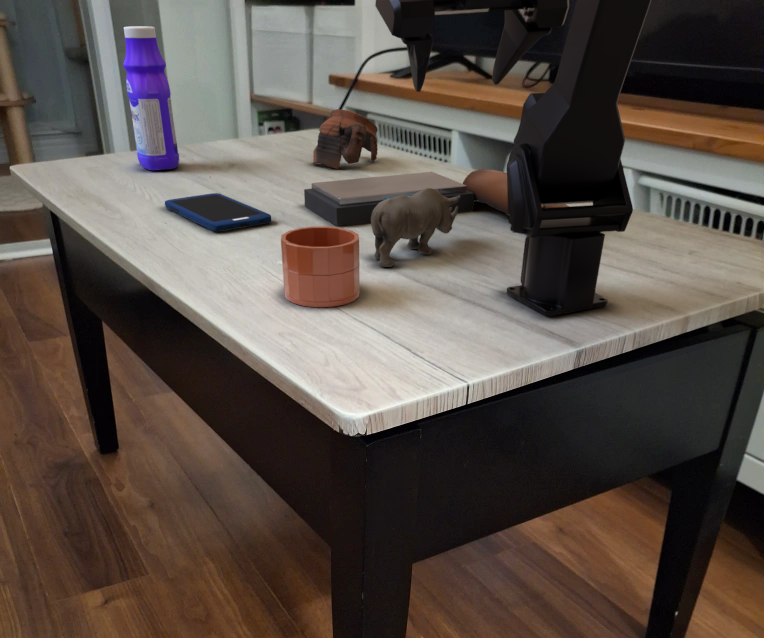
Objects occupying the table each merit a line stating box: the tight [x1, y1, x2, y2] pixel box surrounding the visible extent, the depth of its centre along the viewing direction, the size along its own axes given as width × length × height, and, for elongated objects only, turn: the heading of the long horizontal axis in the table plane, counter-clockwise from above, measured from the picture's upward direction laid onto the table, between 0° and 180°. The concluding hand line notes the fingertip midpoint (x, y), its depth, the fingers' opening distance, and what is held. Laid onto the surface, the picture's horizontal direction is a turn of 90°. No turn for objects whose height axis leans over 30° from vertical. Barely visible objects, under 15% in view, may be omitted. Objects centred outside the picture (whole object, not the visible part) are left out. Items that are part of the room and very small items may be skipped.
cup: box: [280, 225, 361, 308], centre depth 66 cm, size 7×7×5 cm
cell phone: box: [164, 192, 272, 233], centre depth 89 cm, size 7×14×1 cm, turn 37°
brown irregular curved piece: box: [312, 108, 379, 170], centre depth 113 cm, size 12×10×8 cm
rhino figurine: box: [370, 188, 460, 268], centre depth 77 cm, size 4×14×6 cm, turn 139°
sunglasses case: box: [462, 168, 570, 216], centre depth 89 cm, size 18×7×7 cm
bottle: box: [122, 25, 180, 171], centre depth 106 cm, size 7×6×17 cm
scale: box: [303, 171, 475, 227], centre depth 92 cm, size 10×18×3 cm, turn 116°
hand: (456, 85), depth 82 cm, fingers open, 9 cm apart
